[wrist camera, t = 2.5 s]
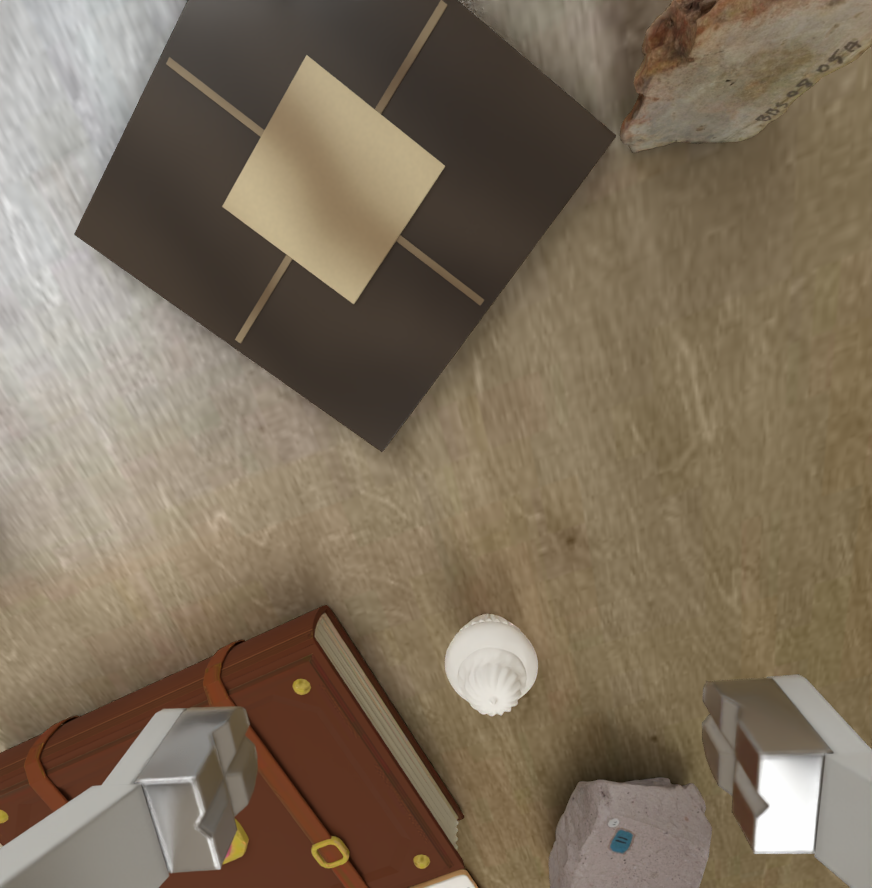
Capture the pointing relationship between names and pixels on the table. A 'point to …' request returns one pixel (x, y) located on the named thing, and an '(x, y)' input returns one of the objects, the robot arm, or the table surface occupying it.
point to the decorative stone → (631, 836)
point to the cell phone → (450, 881)
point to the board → (340, 188)
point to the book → (273, 766)
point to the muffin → (491, 664)
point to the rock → (737, 65)
